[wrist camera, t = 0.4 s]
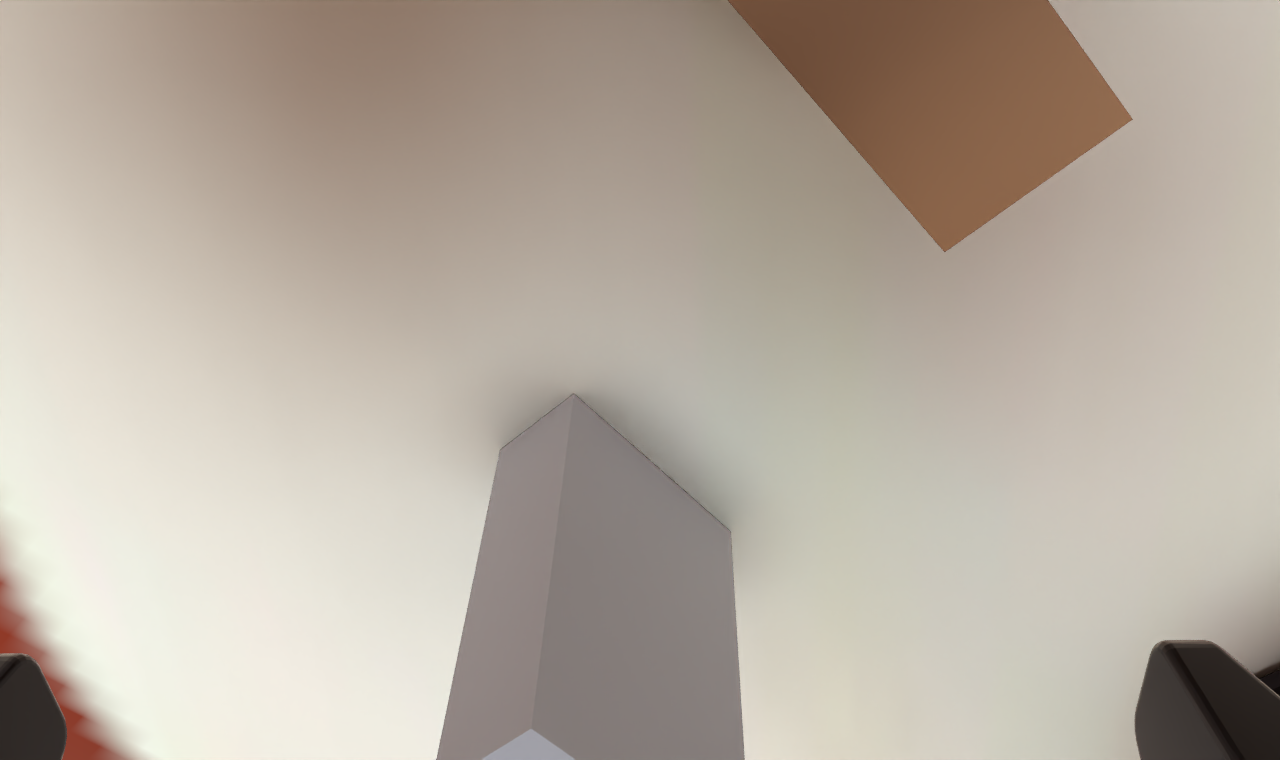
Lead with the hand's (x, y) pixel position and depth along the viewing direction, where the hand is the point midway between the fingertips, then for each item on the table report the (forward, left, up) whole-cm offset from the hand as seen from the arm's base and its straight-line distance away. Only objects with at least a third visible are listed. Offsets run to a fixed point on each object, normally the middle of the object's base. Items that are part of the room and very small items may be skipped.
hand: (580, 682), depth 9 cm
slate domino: (-6, +6, -13) cm, 16 cm away
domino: (+1, -5, -13) cm, 14 cm away
